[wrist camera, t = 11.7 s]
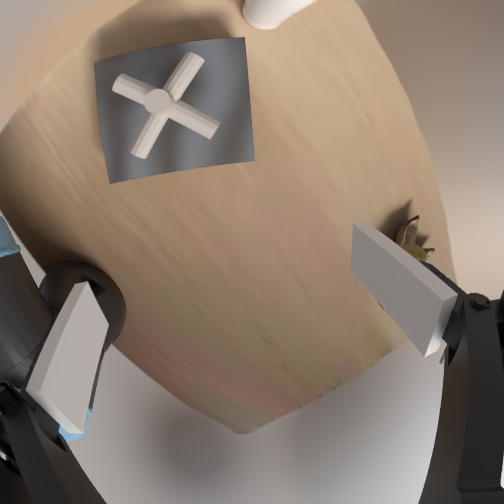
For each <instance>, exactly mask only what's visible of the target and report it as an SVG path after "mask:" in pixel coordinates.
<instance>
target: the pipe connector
mask: <svg viewBox="0 0 504 504" xmlns="http://www.w3.org/2000/svg"><path fill="white" fill-rule="evenodd" d="M204 62H205V60H204V59H203V58H201V57H200V56H198V55H196V54H194V53H192V52H186V54H185V55H184V57H183V58H182V60H181V61H180V63H179V64H178V65H177V67H176V68H175V70H174V71H173V73H172V75H171V76H170V78H169V79H168V81H167V82H166V84H165V85H164V87H163V89H157V88H155V87H153V86H150V85H148V84H146V83H144V82H142V81H140V80H137V79H135V78H133V77H131V76H129V75H126V74H124V73H122V74H120V75H119V76H118V78H117V79H116V81H115V83H114V85H113V88H112V90H113V91H114V92H116V93H118V94H120V95H123V96H125V97H127V98H129V99H131V100H133V101H135V102H138V103H140V104H142V105H144V106H145V108H146V109H147V110H148V111H149V112H148V114H147V116H146V118H145V119H144V121H143V123H142V125H141V127H140V129H139V130H138V132H137V134H136V136H135V138H134V140H133V142H132V144H131V146H130V148H129V150H128V151H129V152H130V153H131V154H133V155H135V156H137V157H139V158H143V159H146V157H147V156H148V154H149V152H150V150H151V148H152V146H153V144H154V142H155V140H156V139H157V137H158V135H159V133H160V131H161V130H162V128H163V126H164V124H165V123H166V121H167V119H168V118H170V119H172V120H174V121H176V122H178V123H180V124H182V125H184V126H186V127H188V128H190V129H191V130H193V131H195V132H197V133H199V134H201V135H203V136H204V137H206V138H208V139H211V137H212V136H213V134H214V133H215V131H216V130H217V128H218V126H219V124H220V121H218V120H217V119H215V118H213V117H211V116H209V115H208V114H206V113H204V112H202V111H200V110H198V109H196V108H194V107H193V106H191V105H189V104H187V103H185V102H183V101H181V100H179V99H180V98H181V96H182V94H183V93H184V91H185V90H186V88H187V87H188V85H189V84H190V82H191V81H192V79H193V78H194V76H195V75H196V73H197V72H198V70H199V69H200V67H201V66H202V64H203V63H204Z"/></svg>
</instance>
